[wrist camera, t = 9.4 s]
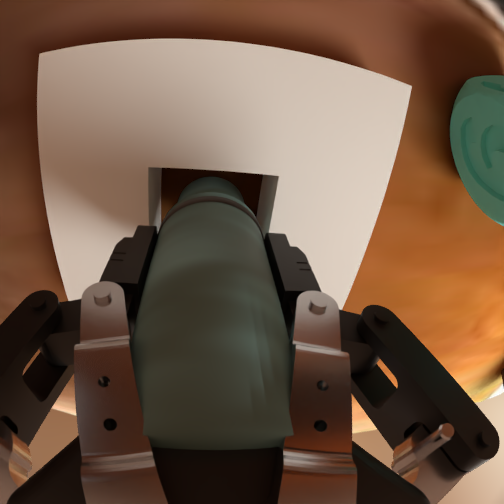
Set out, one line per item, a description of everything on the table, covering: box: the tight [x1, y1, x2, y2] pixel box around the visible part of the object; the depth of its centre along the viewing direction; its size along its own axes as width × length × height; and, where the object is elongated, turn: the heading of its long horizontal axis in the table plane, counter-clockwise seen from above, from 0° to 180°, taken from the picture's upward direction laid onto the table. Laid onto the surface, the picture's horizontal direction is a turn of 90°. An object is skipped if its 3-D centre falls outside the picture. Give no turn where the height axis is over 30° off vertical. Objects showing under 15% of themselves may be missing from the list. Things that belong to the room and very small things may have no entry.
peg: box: [131, 177, 294, 450], centre depth 10 cm, size 4×4×12 cm
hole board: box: [37, 39, 412, 310], centre depth 15 cm, size 16×16×4 cm
